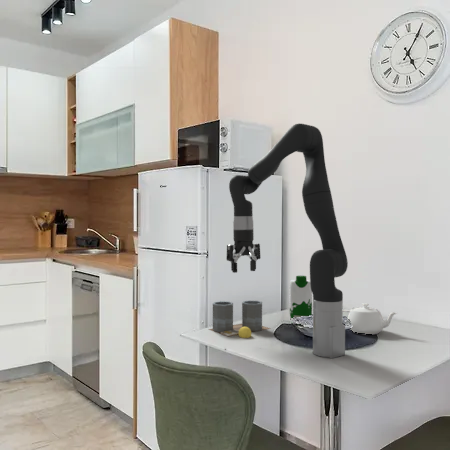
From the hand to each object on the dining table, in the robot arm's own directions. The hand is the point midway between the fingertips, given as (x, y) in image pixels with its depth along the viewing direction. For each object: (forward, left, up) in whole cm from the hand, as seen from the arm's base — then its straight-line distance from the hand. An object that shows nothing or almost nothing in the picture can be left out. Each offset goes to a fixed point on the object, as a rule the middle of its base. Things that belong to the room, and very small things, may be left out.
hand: (243, 271), depth 178 cm
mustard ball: (-9, +7, -23) cm, 25 cm away
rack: (+1, +2, -23) cm, 23 cm away
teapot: (-27, -37, -23) cm, 52 cm away
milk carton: (-5, -24, -23) cm, 34 cm away
